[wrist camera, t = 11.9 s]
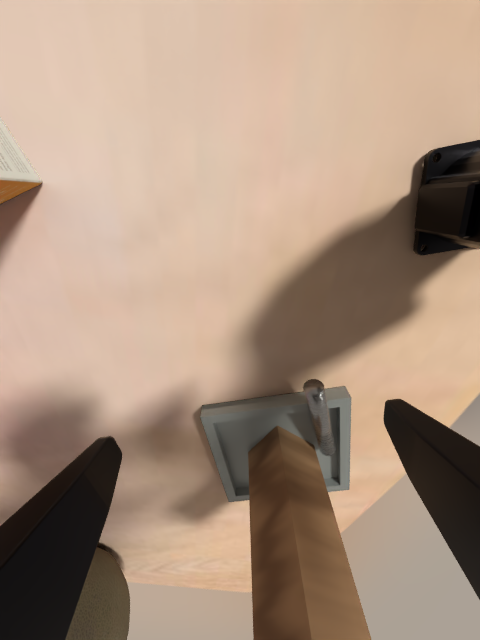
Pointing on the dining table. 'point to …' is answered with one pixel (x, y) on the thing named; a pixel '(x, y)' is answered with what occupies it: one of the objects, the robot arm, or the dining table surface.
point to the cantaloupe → (102, 602)
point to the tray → (261, 418)
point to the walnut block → (297, 548)
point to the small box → (14, 167)
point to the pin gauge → (320, 416)
